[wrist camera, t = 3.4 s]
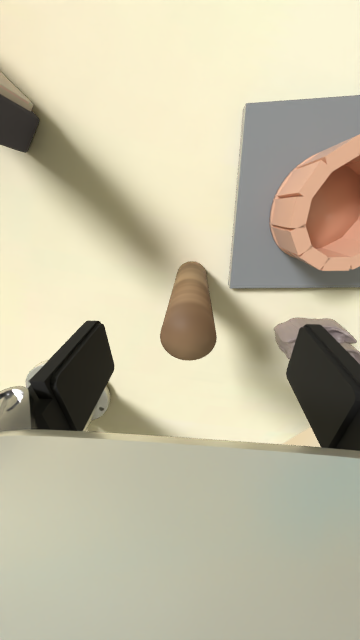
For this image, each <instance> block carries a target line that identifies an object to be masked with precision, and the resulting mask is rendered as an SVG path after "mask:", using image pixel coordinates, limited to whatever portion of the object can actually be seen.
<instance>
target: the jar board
mask: <svg viewBox="0 0 360 640" xmlns="http://www.w3.org/2000/svg"><path fill="white" fill-rule="evenodd" d="M228 285H229V288H323V287H360V95H355V96H342V97H328V98H314V99H300V100H287V101H273V102H259V103H246V105H245V107H244V109H243V118H242V130H241V142H240V154H239V165H238V177H237V189H236V201H235V212H234V224H233V236H232V248H231V259H230V271H229V283H228Z"/></svg>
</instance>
